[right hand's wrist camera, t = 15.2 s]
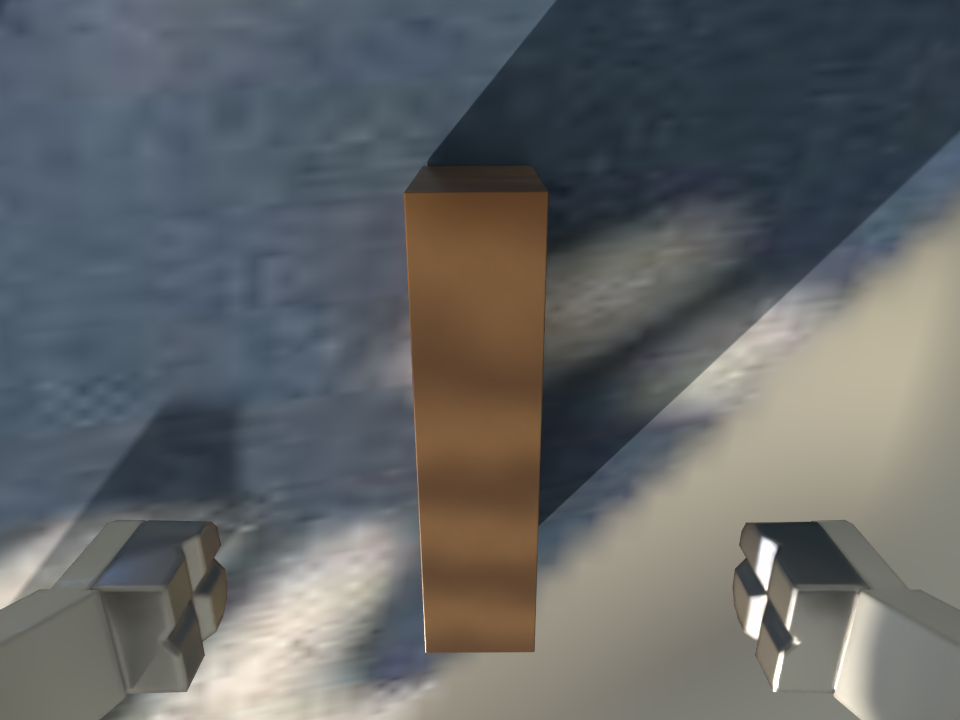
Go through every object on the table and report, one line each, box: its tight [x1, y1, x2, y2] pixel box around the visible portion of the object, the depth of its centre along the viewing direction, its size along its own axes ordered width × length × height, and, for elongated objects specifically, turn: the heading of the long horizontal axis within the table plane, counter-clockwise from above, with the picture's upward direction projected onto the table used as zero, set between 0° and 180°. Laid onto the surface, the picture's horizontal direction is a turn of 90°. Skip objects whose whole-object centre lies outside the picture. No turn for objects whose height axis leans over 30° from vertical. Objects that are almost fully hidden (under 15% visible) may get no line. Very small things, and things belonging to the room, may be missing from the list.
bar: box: [404, 166, 549, 653], centre depth 33 cm, size 22×5×9 cm, turn 0°
